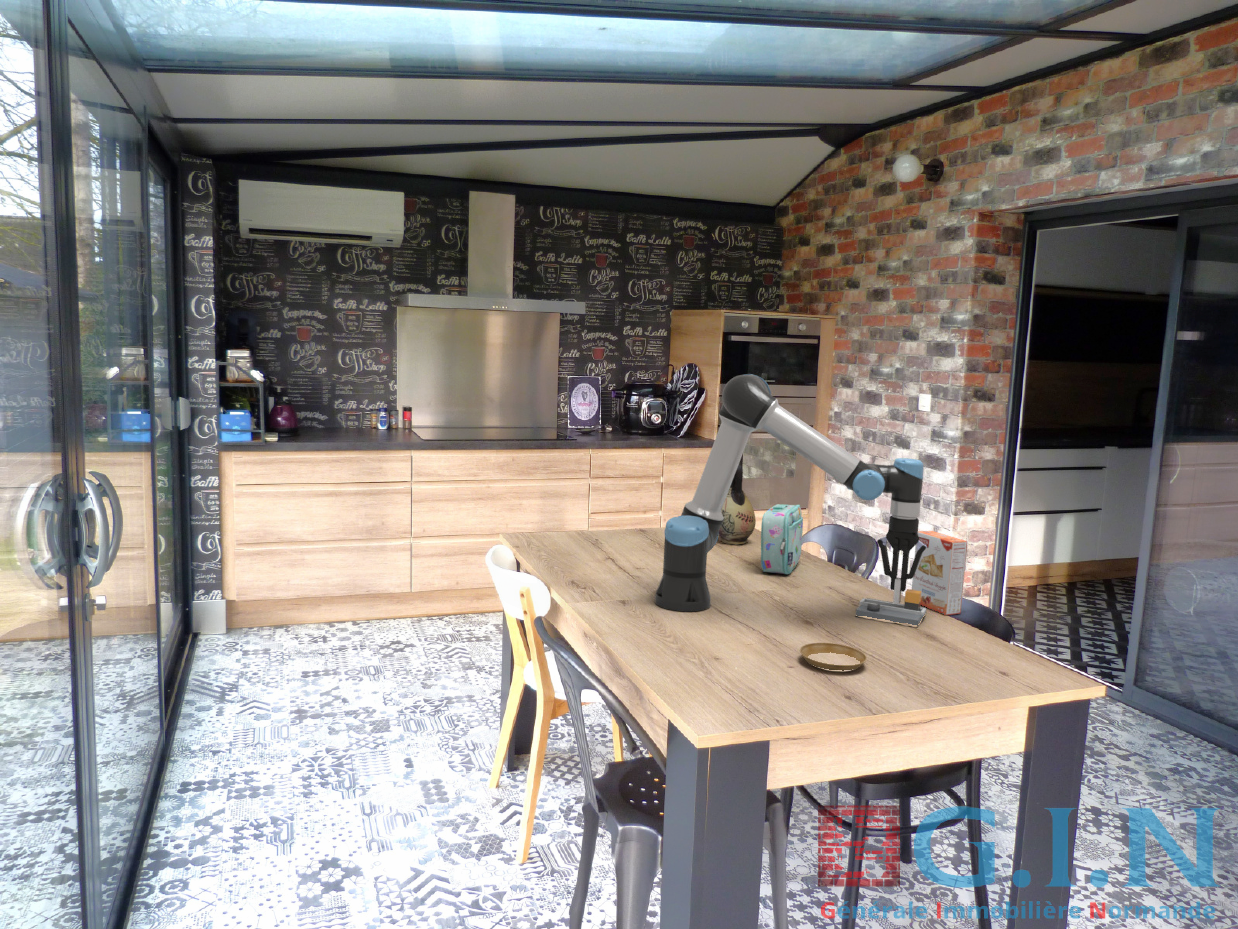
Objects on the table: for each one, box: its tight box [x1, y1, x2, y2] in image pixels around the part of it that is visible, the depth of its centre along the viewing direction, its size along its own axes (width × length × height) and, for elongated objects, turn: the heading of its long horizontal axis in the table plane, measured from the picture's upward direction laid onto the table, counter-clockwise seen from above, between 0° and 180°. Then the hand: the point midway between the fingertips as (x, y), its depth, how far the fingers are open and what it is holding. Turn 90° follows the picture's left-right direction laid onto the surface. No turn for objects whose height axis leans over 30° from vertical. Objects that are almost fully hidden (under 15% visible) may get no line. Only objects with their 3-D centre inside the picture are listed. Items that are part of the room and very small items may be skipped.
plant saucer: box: [799, 642, 868, 671], centre depth 199 cm, size 15×15×3 cm
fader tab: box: [904, 588, 922, 611], centre depth 237 cm, size 3×4×5 cm
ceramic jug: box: [718, 462, 756, 546], centre depth 321 cm, size 17×15×30 cm
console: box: [855, 597, 928, 627], centre depth 238 cm, size 14×17×4 cm
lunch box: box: [760, 503, 804, 575], centre depth 286 cm, size 27×10×21 cm, turn 160°
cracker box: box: [911, 530, 968, 616], centre depth 247 cm, size 14×6×21 cm, turn 23°
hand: (896, 602), depth 238 cm, fingers closed
